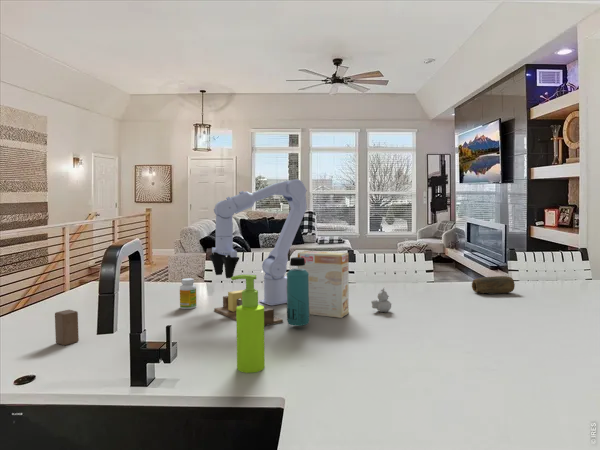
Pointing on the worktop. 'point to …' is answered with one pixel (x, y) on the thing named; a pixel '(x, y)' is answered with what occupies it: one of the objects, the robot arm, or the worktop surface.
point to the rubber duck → (382, 302)
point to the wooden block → (66, 327)
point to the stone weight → (493, 284)
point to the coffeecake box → (327, 282)
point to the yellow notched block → (234, 299)
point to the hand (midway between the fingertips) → (224, 276)
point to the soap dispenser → (250, 329)
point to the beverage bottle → (297, 294)
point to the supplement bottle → (187, 294)
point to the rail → (233, 314)
